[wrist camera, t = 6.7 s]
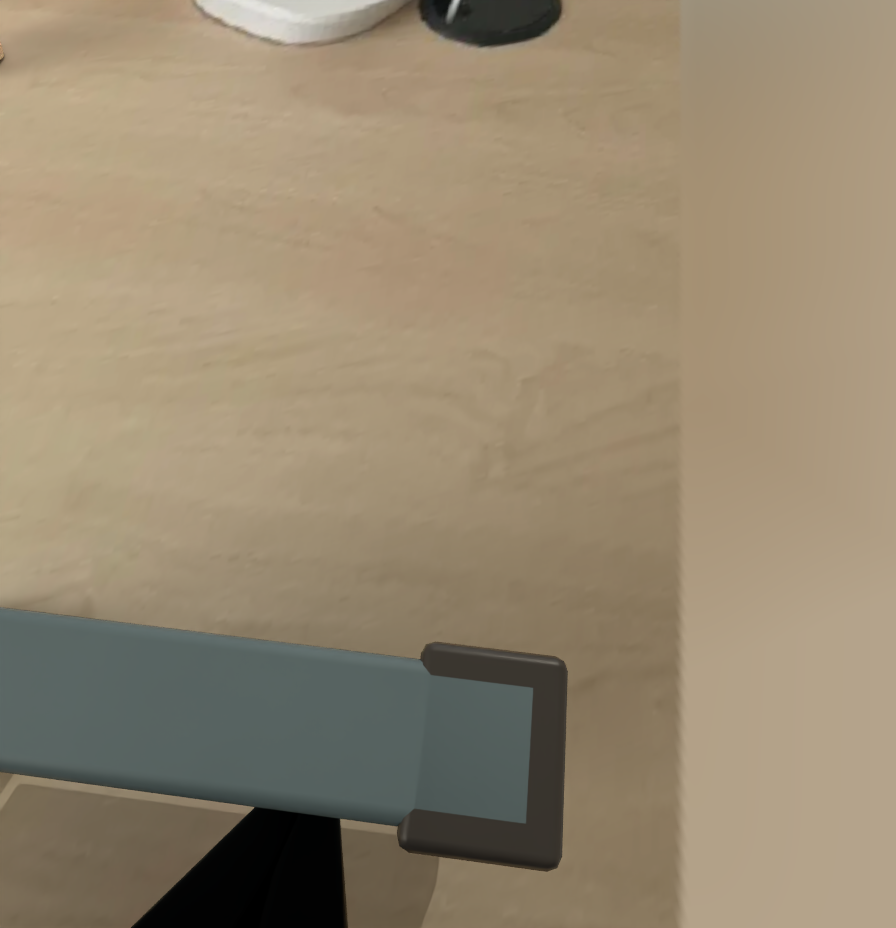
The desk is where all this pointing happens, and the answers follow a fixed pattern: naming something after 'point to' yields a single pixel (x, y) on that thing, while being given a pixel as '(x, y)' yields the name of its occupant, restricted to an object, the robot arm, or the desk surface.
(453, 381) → the desk surface
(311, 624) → the desk surface
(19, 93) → the desk surface
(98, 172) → the desk surface
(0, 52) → the milkshake
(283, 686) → the door
